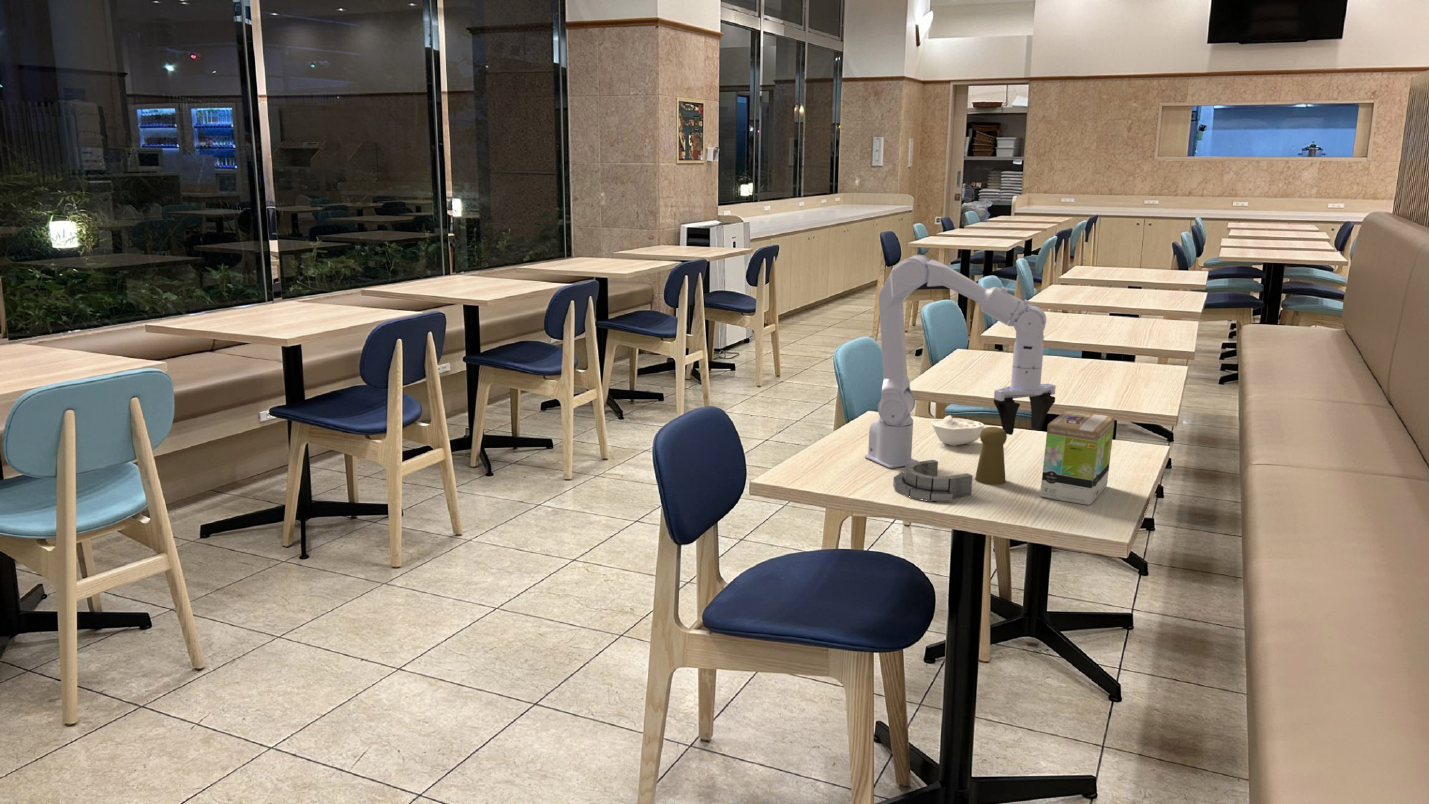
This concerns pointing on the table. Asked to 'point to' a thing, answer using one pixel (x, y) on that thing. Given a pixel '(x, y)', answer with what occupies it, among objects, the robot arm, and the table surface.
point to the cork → (991, 457)
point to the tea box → (1077, 457)
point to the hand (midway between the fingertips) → (1022, 431)
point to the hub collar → (931, 483)
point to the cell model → (957, 430)
